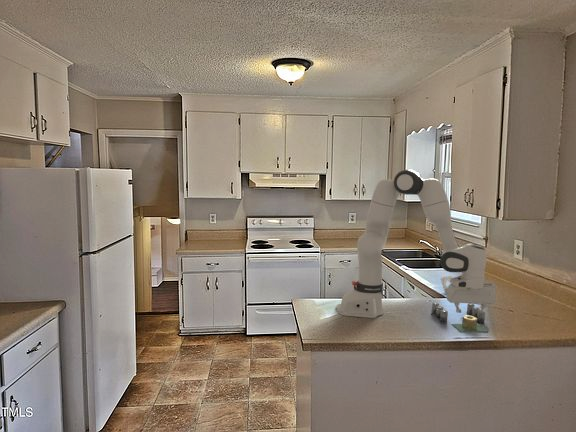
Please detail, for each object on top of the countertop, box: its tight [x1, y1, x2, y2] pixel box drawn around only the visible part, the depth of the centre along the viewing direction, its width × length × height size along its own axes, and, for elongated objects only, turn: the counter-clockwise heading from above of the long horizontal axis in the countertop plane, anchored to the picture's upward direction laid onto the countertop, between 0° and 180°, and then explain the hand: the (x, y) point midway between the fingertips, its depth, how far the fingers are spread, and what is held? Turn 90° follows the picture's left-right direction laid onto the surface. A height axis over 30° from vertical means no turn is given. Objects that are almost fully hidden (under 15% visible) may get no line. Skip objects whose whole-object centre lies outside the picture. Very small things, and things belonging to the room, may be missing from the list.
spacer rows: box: [431, 302, 486, 325], centre depth 183 cm, size 20×13×5 cm, turn 91°
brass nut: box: [461, 314, 478, 330], centre depth 171 cm, size 5×6×5 cm
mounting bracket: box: [440, 275, 453, 294], centre depth 223 cm, size 12×6×11 cm, turn 119°
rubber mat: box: [451, 323, 489, 333], centre depth 171 cm, size 12×8×1 cm, turn 91°
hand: (469, 312), depth 171 cm, fingers open, 8 cm apart
